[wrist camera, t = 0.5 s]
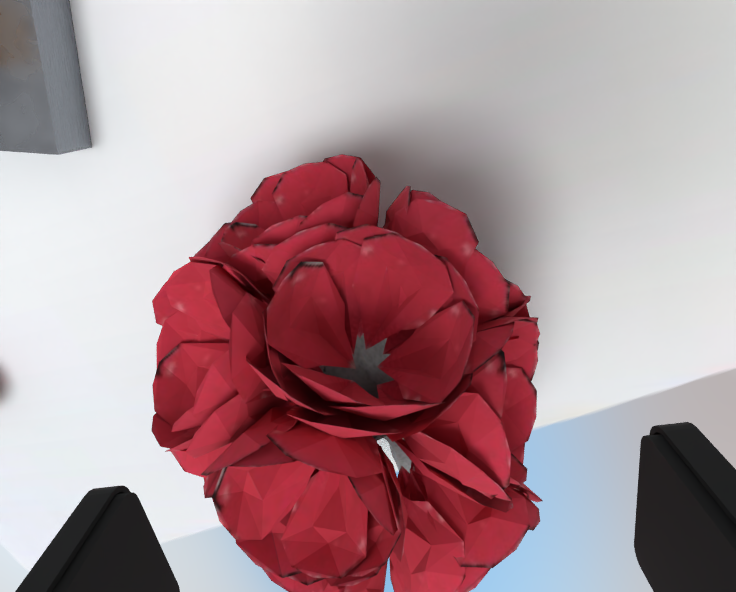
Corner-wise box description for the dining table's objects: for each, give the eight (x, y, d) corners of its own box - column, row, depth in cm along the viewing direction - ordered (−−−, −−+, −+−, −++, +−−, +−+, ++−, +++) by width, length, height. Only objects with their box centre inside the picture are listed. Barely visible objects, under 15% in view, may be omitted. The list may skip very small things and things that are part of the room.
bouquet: (520, 324, 48) (450, 34, 25) (619, 609, 34) (669, 547, 11) (320, 380, 53) (107, 181, 30) (332, 648, 38) (-58, 664, 16)
